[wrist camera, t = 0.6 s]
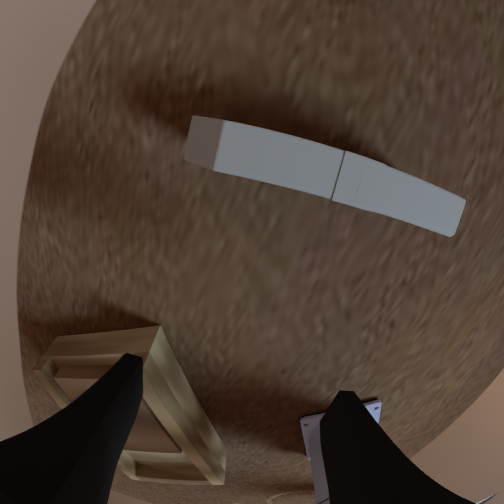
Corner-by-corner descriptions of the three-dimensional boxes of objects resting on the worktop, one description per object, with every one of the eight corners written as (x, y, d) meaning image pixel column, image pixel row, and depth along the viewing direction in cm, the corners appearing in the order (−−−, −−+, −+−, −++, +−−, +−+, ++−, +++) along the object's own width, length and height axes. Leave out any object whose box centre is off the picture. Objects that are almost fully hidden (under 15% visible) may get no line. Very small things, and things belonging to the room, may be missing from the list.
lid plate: (183, 440, 22) (180, 460, 20) (117, 437, 23) (111, 454, 21) (133, 364, 19) (122, 386, 16) (61, 365, 19) (49, 384, 17)
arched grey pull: (397, 200, 17) (470, 245, 10) (208, 150, 16) (173, 164, 9) (404, 175, 17) (484, 208, 9) (215, 121, 16) (183, 112, 8)
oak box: (226, 449, 27) (224, 484, 23) (140, 448, 28) (131, 479, 24) (160, 325, 21) (141, 369, 16) (57, 336, 22) (32, 370, 17)
